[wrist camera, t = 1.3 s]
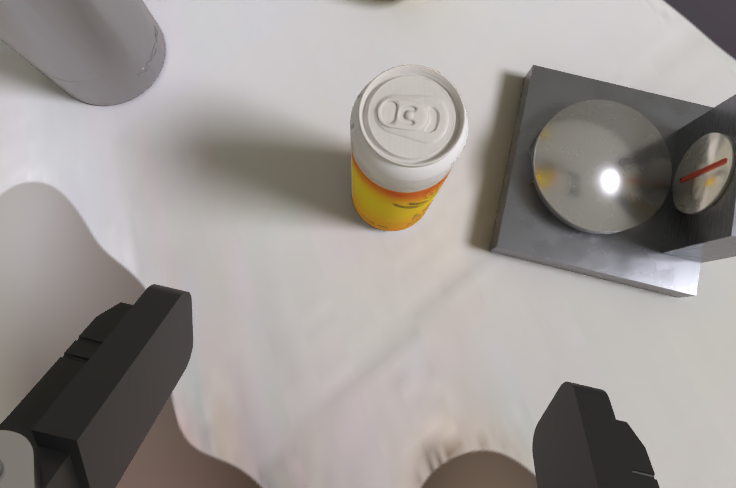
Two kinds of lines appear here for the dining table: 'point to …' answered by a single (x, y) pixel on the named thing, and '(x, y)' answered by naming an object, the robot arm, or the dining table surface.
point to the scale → (657, 234)
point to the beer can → (404, 144)
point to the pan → (601, 167)
